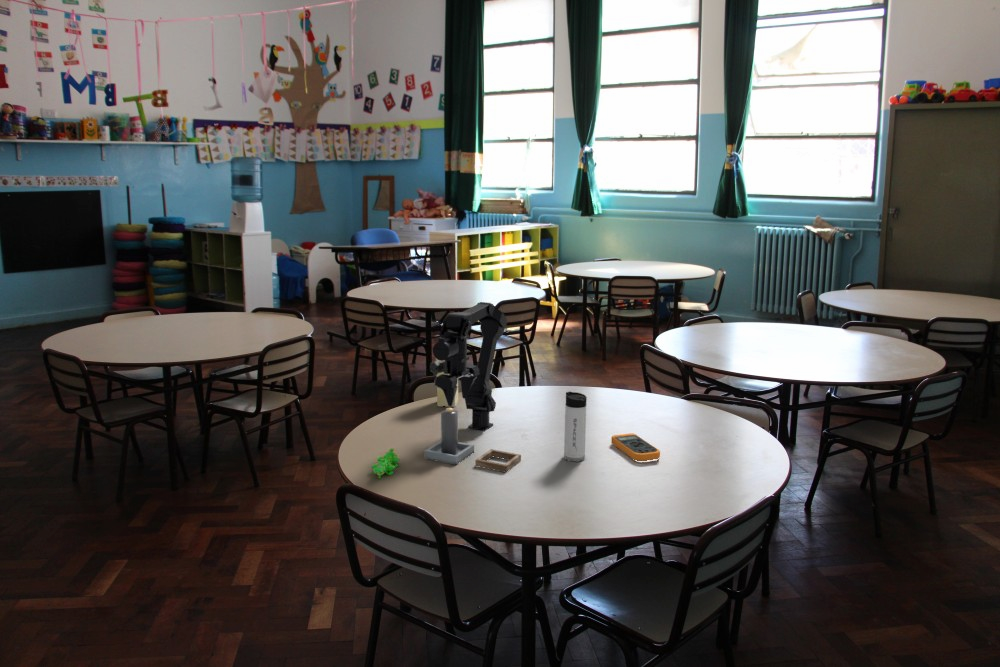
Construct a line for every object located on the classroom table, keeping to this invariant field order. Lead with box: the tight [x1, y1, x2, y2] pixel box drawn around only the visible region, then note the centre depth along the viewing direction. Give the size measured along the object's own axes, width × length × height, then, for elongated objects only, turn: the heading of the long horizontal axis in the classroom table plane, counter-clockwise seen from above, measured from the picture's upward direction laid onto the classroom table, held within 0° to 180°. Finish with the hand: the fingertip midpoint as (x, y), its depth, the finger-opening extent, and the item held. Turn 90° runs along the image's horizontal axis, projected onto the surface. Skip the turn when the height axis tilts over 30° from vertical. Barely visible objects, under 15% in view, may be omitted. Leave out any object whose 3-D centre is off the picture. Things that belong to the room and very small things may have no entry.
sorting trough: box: [423, 440, 475, 465], centre depth 238 cm, size 11×11×2 cm
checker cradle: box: [474, 449, 522, 473], centre depth 232 cm, size 10×10×2 cm
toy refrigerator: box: [435, 358, 459, 408], centre depth 287 cm, size 8×7×21 cm
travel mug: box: [563, 391, 588, 462], centre depth 235 cm, size 6×7×20 cm
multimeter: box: [610, 432, 661, 461], centre depth 242 cm, size 9×18×3 cm, turn 19°
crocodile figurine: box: [371, 447, 401, 479], centre depth 227 cm, size 7×18×4 cm, turn 173°
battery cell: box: [440, 407, 459, 455], centre depth 236 cm, size 5×5×14 cm
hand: (457, 402), depth 247 cm, fingers open, 9 cm apart
